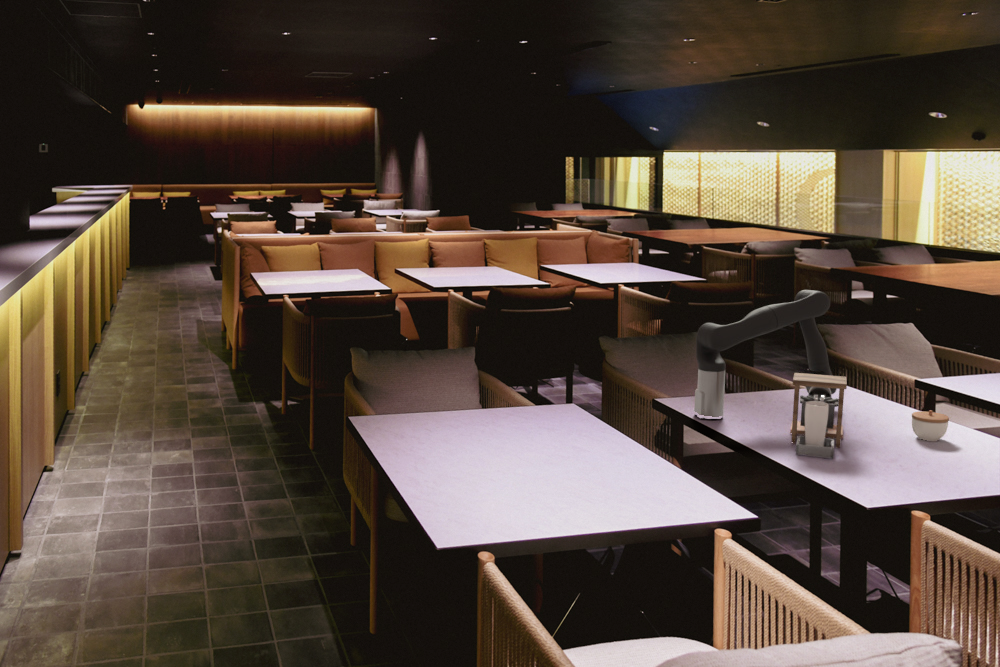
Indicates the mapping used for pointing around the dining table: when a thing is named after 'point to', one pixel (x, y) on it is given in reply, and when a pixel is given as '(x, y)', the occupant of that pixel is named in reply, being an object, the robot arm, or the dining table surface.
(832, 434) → the board
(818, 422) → the drinking glass
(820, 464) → the dining table surface
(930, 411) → the lidded jar
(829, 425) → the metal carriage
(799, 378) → the walnut tunnel
